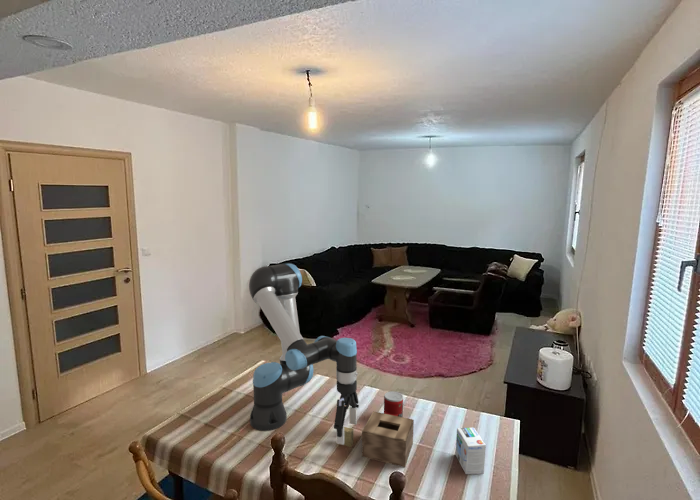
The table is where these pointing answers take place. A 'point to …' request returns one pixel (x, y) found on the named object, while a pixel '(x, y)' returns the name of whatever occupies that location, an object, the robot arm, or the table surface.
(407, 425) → the brown block with hole
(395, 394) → the canned food
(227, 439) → the table surface
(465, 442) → the light bulb box
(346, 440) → the butter stick block
